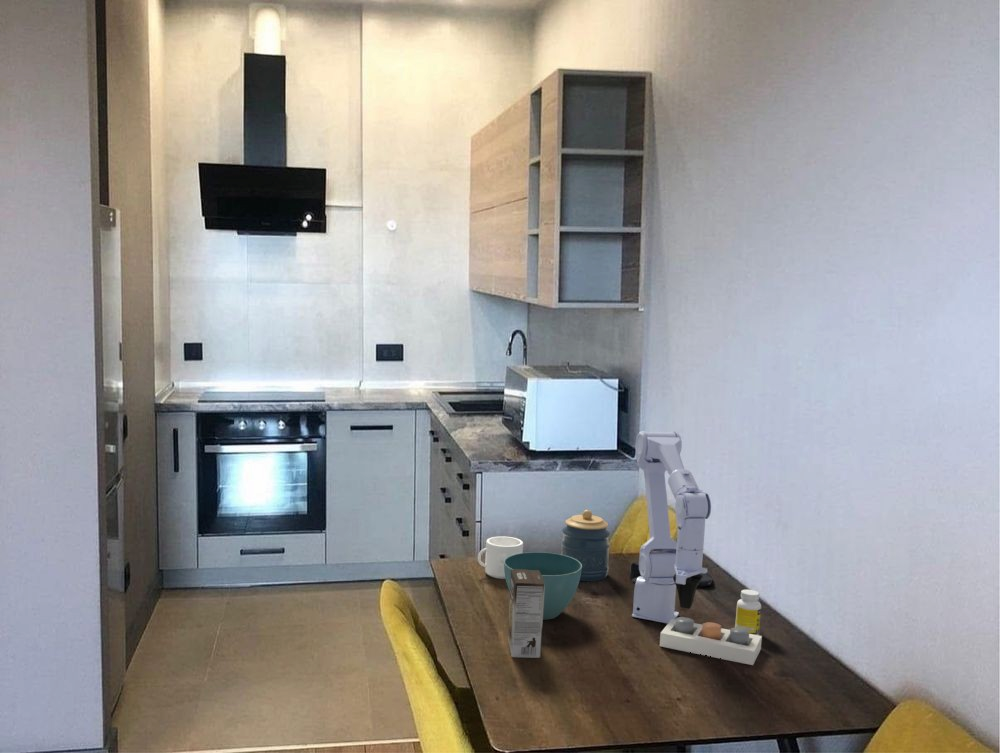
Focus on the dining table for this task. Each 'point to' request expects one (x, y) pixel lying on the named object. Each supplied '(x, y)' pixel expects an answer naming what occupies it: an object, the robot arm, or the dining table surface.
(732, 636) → the right grey button
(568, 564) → the teal bowl
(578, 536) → the canister
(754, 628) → the supplement bottle
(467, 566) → the dining table surface
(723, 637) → the button panel
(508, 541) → the mug
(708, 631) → the orange rounded dome
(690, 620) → the left grey button
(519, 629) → the coffee box
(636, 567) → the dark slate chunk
